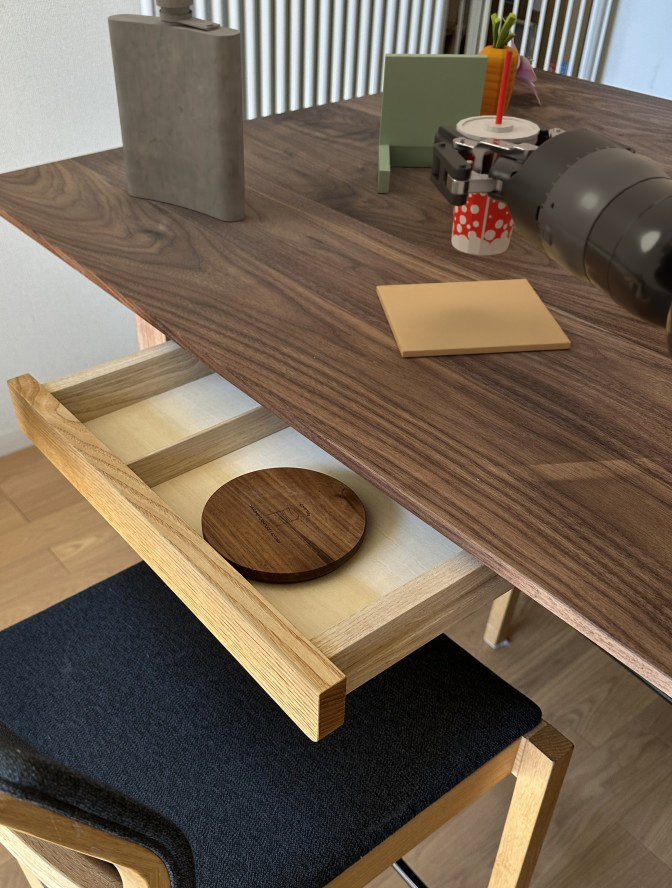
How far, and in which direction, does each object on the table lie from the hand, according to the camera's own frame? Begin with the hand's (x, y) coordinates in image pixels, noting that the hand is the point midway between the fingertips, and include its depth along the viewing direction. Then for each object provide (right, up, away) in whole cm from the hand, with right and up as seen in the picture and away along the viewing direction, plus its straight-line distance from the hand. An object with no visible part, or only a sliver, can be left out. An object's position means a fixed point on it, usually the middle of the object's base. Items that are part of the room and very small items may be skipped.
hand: (481, 136), depth 66 cm
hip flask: (-26, +6, +29) cm, 39 cm away
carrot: (+11, +18, +42) cm, 47 cm away
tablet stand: (+2, +10, +34) cm, 35 cm away
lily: (+19, +32, +58) cm, 69 cm away
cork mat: (+1, -12, +8) cm, 15 cm away
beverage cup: (+1, -7, +3) cm, 8 cm away
